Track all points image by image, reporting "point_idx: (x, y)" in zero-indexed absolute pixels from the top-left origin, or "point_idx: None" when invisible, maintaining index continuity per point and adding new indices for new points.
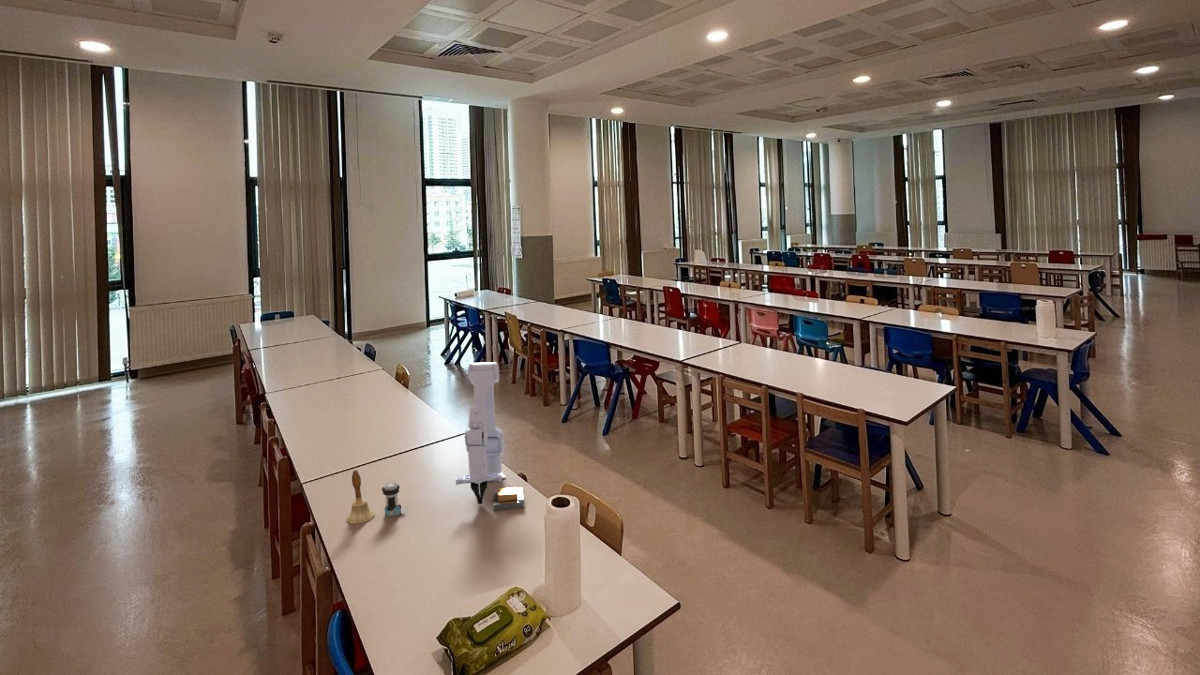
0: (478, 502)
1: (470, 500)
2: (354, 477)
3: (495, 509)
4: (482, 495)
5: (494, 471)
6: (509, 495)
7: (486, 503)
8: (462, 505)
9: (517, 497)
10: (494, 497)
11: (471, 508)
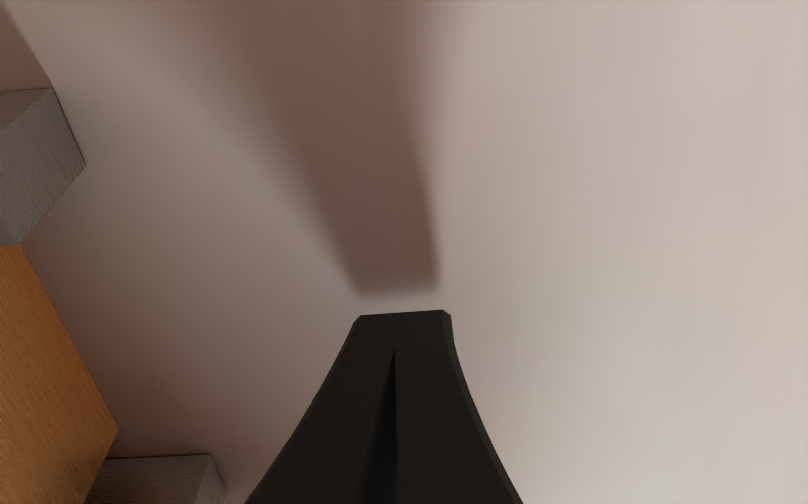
0: (434, 331)
1: (610, 483)
2: None
3: (3, 104)
4: (290, 476)
5: None
6: None
7: (313, 379)
8: (768, 360)
9: None
10: (185, 496)
11: (591, 238)
